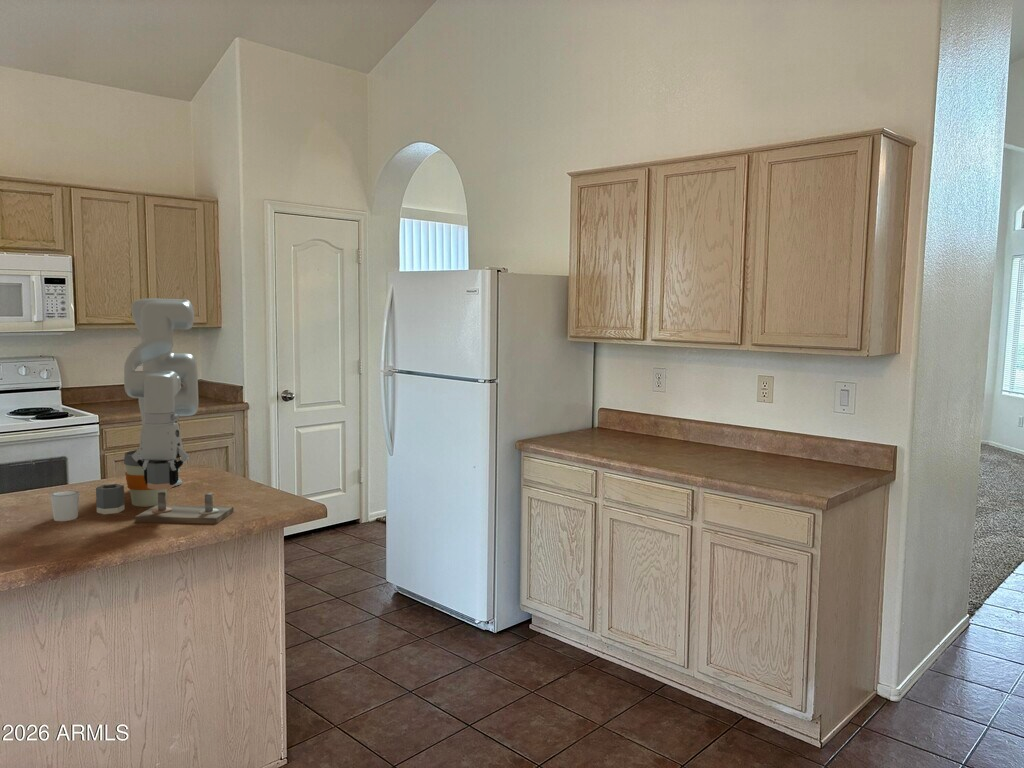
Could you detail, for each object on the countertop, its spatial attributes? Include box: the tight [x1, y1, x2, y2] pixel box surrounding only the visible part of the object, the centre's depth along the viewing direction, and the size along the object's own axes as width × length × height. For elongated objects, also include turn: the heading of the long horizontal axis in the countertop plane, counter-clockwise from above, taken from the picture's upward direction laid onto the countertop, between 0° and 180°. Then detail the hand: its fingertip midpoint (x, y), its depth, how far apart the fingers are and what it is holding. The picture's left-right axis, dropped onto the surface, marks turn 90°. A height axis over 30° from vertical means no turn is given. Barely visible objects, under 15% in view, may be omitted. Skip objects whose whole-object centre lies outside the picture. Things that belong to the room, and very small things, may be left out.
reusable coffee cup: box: [123, 449, 168, 507], centre depth 225 cm, size 13×12×15 cm
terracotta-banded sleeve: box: [147, 460, 176, 490], centre depth 210 cm, size 7×6×7 cm
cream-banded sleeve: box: [95, 483, 125, 515], centre depth 215 cm, size 7×6×7 cm
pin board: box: [134, 492, 234, 525], centre depth 211 cm, size 12×22×6 cm, turn 89°
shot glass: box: [49, 490, 80, 522], centre depth 207 cm, size 7×7×7 cm
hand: (161, 483), depth 210 cm, fingers closed on terracotta-banded sleeve, 6 cm apart
